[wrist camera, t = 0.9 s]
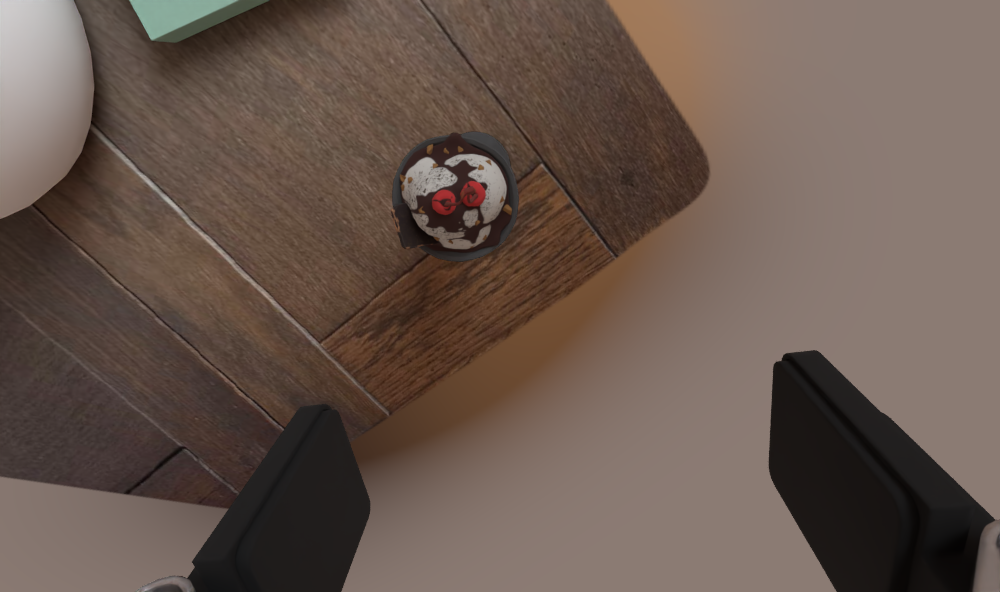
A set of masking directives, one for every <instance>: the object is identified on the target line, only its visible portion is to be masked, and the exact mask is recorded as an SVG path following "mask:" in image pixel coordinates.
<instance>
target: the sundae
mask: <svg viewBox="0 0 1000 592" xmlns="http://www.w3.org/2000/svg"><path fill="white" fill-rule="evenodd" d="M392 203H393V208H392V209H391V213H392V218H393V221H394V225H395V228H396V231H397V233H398V235H399V238H400V242H401V245H402V247H403V248H405V249H409V248H416V247H419V248H421V249H422V250H424V251H425V252H426V253H428V254H430V255H432V256H434V257H436V258H438V259H443V260H447V261H457V262H463V261H468V260H473V259H476V258H480V257H483V256H484V255H486V254H488V253H490V252H492V251H493V250H494V249H496V248H497V247H499V246H500V245H501V244H502V243H503V242H504V241H505V240H506V238H507V237H508V235H509V234H510V232H511V230H512V228H513V226H514V224H515V222H516V217H517V212H518V203H519V196H518V189H517V183H516V179H515V175H514V173H513V171H512V169H511V165H510V160H509V157H508V154H507V152H506V150H505V148H504V147H503V146H502V144H501V143H500V142H499V141H498V140H496V139H495V138H494V137H492V136H490V135H488V134H486V133H481V132H468V133H464V134H461V135H460V134H458V133H452V134H450V135H446V136H439V137H434V138H431V139H427V140H425V141H423V142H422V143H420V144H418V145H417V146H416V147H414V148H413V149H412V150H411V151H410V152H409V153H408V154H407V155H406V157H405V158H404V159H403V161H402V162H401V164H400V166H399V168H398V170H397V173H396V176H395V178H394V182H393V190H392Z"/></svg>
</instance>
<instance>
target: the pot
mask: <svg viewBox="0 0 1000 592" xmlns="http://www.w3.org/2000/svg"><path fill="white" fill-rule="evenodd" d="M93 96H94V78H93V68H92V57H91V51H90V48H89V44H88V40H87V37H86V33H85V29H84V26H83V22H82V18H81V16H80V14H79V11H78V9H77V7H76V4H75V2H74V0H0V219H2V218H4V217H7V216H9V215H11V214H13V213H15V212H18V211H20V210H22V209H24V208H26V207H29V206H30V205H31V204H33V203H34V202H35V201H36V200H38V199H39V198H40V197H41V196H43V195H44V194H45V193H46V192H48V191H49V190H50V189H51V188H52V187H53V186H55V185H56V184H57V183H58V182H59V181H60V180H62V179H63V178H64V177H65V176H66V175H67V174H68V172H69V171H70V169H71V168H72V166H73V165H74V163H75V161H76V160H77V158H78V157H79V155H80V154H81V152H82V149H83V146H84V143H85V140H86V137H87V134H88V131H89V128H90V124H91V117H92V107H93Z"/></svg>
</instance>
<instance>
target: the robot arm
mask: <svg viewBox="0 0 1000 592" xmlns="http://www.w3.org/2000/svg"><path fill="white" fill-rule="evenodd" d="M769 449H770V450H769V472H770V475H771V479H772V481H773V483H774V485H775V487H776V489H777V490H778V492H779V494H780V495H781V497H782V499H783V501H784V502H785V504H786V506H787V507H788V509H789V511H790V512H791V514H792V516H793V518H794V519H795V521H796V523H797V525H798V526H799V528H800V530H801V531H802V533H803V535H804V536H805V538H806V540H807V542H808V543H809V545H810V547H811V548H812V550H813V552H814V553H815V555H816V557H817V559H818V560H819V562H820V564H821V565H822V567H823V569H824V570H825V572H826V574H827V576H828V578H829V579H830V581H831V583H832V584H833V586H834V588H835V589H836V591H837V592H1000V520H995V519H994V518H993V517H992V516H991V515H990V514H989V513H988V512H987V511H986V510H985V509H984V508H983V507H981V505H979V504H978V503H977V502H976V501H975V500H974V499H973V498H972V497H971V496H970V495H969V494H968V493H967V492H966V491H965V490H964V489H963V488H962V487H961V486H960V485H959V484H958V483H957V482H956V481H955V480H954V479H953V478H952V477H951V476H950V475H949V474H948V473H946V472H945V471H944V470H943V469H942V468H941V467H940V466H939V465H938V464H937V463H936V462H935V461H934V460H933V459H932V458H931V457H930V456H929V455H928V454H927V453H926V452H925V451H924V450H923V449H922V448H921V447H920V446H919V445H917V444H916V442H914V441H913V440H912V439H911V438H910V437H909V436H908V435H907V434H906V433H905V432H904V431H903V430H902V429H901V428H900V427H899V426H898V425H897V424H896V423H894V421H893V420H891V418H889V417H888V416H887V415H885V414H884V413H881V412H880V411H879V410H878V409H877V408H876V407H875V406H874V405H873V404H872V403H871V402H870V401H869V400H868V399H867V398H866V397H865V396H864V395H863V394H862V393H861V392H860V391H859V390H858V389H857V388H856V387H855V386H853V385H852V383H851V382H849V381H848V380H847V379H846V378H845V377H844V376H843V375H842V374H841V373H840V372H839V371H838V370H837V369H836V368H835V367H834V366H833V365H832V364H831V363H830V362H829V361H828V360H827V359H826V358H825V357H824V356H823V355H822V354H821V353H820V352H818V351H815V350H813V351H804V352H795V353H786V354H785V355H783V358H782V361H779V362H776V363H775V364H774V367H773V385H772V407H771V428H770V448H769ZM369 514H370V500H369V496H368V494H367V490H366V488H365V485H364V482H363V480H362V476H361V474H360V471H359V468H358V465H357V462H356V460H355V457H354V454H353V451H352V448H351V445H350V442H349V440H348V437H347V434H346V431H345V428H344V426H343V423H342V420H341V417H340V415H339V412H338V411H337V410H332V409H331V407H330V406H329V405H327V404H322V405H313V406H304V407H300V408H299V409H298V411H297V412H296V413H295V415H294V416H293V418H292V419H291V421H290V422H289V423H288V425H287V426H286V428H285V429H284V431H283V432H282V433H281V435H280V436H279V438H278V439H277V441H276V442H275V444H274V445H273V446H272V448H271V449H270V451H269V452H268V454H267V455H266V456H265V458H264V459H263V461H262V462H261V464H260V465H259V466H258V468H257V469H256V471H255V472H254V474H253V475H252V476H251V478H250V479H249V481H248V482H247V484H246V485H245V486H244V488H243V489H242V491H241V492H240V494H239V495H238V497H237V498H236V499H235V501H234V502H233V504H232V505H231V507H230V508H229V509H228V511H227V512H226V514H225V515H224V517H223V518H222V519H221V521H220V522H219V524H218V525H217V527H216V528H215V530H214V531H213V532H212V534H211V535H210V537H209V538H208V539H207V541H206V542H205V544H204V545H203V547H202V548H201V550H200V551H199V552H198V554H197V555H196V557H195V558H194V560H193V561H192V563H193V564H194V566H195V568H194V569H193V571H192V572H191V574H190V575H189V577H188V578H185V577H183V576H169V577H165V578H161V579H158V580H155V581H153V582H151V583H149V584H147V585H145V586H143V587H141V588H140V589H138V590H137V591H135V592H341V591H342V588H343V585H344V582H345V580H346V577H347V574H348V572H349V569H350V566H351V564H352V561H353V558H354V555H355V553H356V550H357V547H358V545H359V542H360V539H361V536H362V534H363V531H364V528H365V526H366V523H367V520H368V518H369Z"/></svg>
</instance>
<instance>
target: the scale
mask: <svg viewBox="0 0 1000 592" xmlns="http://www.w3.org/2000/svg"><path fill="white" fill-rule="evenodd" d="M129 1H130V3H131V4H132V6H133V8H134V10H135V12H136V13H137V15H138V17H139V19H140V21H141V22H142V24H143V26H144V28H145V30H146V32H147V33H148V35H149V37H150V39H151V40H152V41H161V42H173V43H177V42H179V41H181V40H184V39H186V38H188V37H190V36H192V35H195V34H197V33H199V32H201V31H203V30H206V29H208V28H210V27H212V26H214V25H216V24H219V23H221V22H223V21H225V20H227V19H230V18H232V17H234V16H236V15H238V14H241V13H243V12H245V11H247V10H249V9H252V8H254V7H256V6H258V5H260V4H263V3H265V2H267V1H269V0H129Z"/></svg>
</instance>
